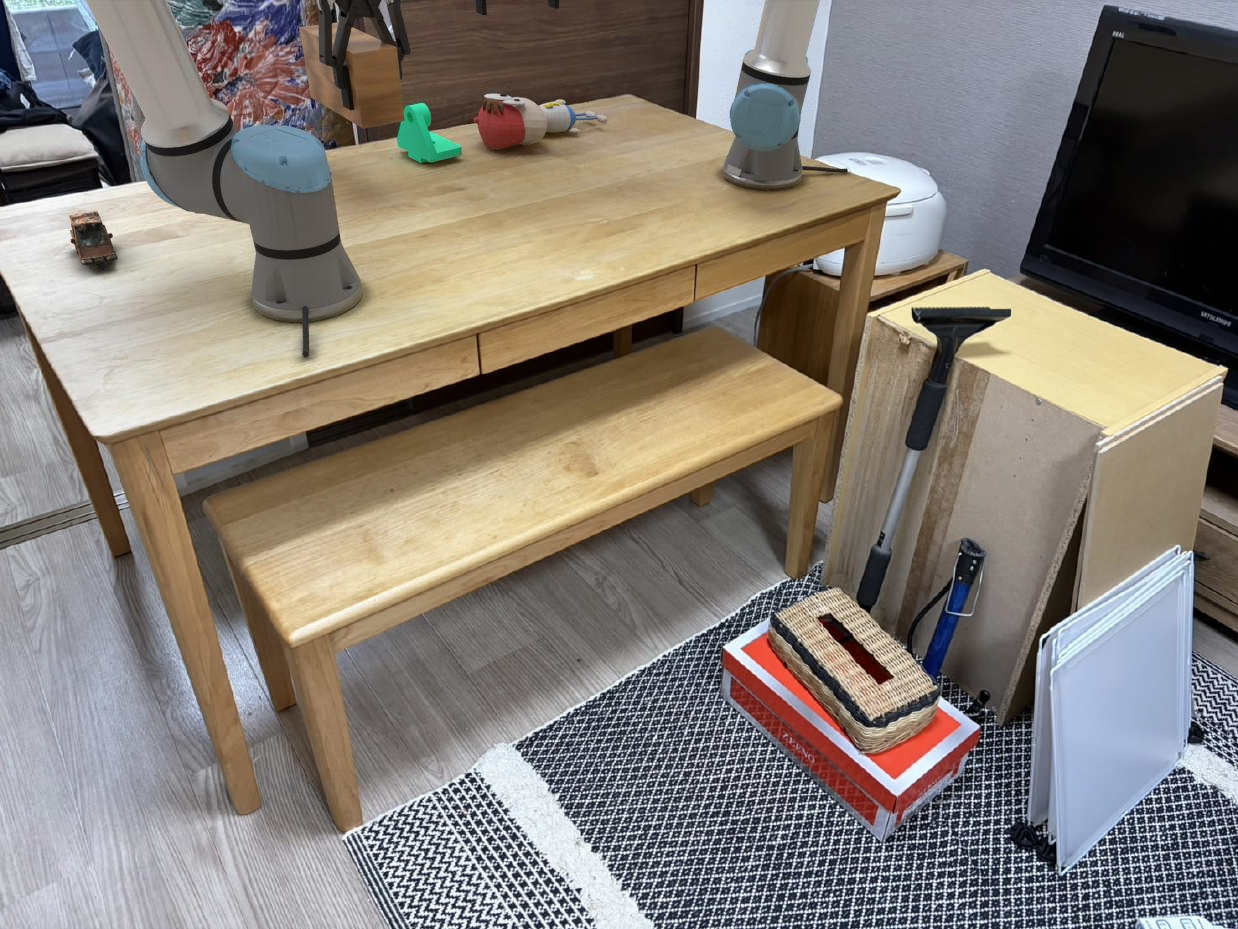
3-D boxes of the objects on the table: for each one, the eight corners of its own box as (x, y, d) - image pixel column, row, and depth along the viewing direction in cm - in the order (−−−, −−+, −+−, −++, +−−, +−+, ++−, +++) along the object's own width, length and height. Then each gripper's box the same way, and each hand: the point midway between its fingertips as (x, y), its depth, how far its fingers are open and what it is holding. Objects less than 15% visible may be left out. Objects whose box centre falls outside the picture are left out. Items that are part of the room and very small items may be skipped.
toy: (626, 100, 192) (495, 101, 177) (622, 150, 197) (495, 156, 182) (581, 87, 205) (455, 87, 190) (578, 134, 210) (456, 138, 195)
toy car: (108, 240, 149) (95, 198, 145) (131, 265, 142) (117, 222, 137) (65, 249, 146) (50, 207, 141) (86, 276, 138) (71, 232, 134)
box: (405, 121, 158) (396, 47, 151) (362, 128, 154) (352, 53, 147) (351, 91, 171) (341, 22, 164) (310, 97, 167) (298, 26, 160)
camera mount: (464, 159, 183) (460, 106, 177) (431, 168, 179) (426, 113, 173) (430, 144, 190) (425, 92, 184) (398, 151, 186) (392, 98, 180)
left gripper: (401, -57, 151) (416, 89, 164) (278, -47, 140) (304, 108, 154) (423, -50, 146) (437, 100, 160) (297, -40, 136) (323, 119, 149)
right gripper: (571, -140, 154) (572, 0, 167) (429, -138, 143) (441, 11, 156) (593, -136, 149) (592, 8, 161) (447, -134, 138) (458, 20, 151)
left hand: (372, 103), depth 157 cm, fingers closed on box, 8 cm apart
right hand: (518, 10), depth 159 cm, fingers open, 13 cm apart
